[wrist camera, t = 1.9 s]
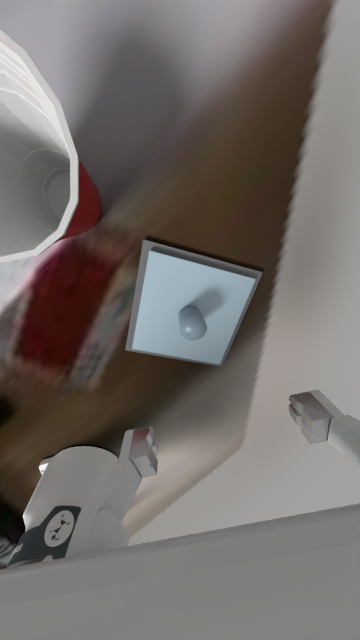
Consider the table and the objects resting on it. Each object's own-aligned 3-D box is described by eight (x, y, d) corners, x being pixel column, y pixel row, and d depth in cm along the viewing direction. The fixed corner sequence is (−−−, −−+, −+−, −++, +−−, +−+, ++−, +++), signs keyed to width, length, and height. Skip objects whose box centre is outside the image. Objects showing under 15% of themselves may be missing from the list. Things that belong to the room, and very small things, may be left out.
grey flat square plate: (221, 364, 30) (222, 367, 30) (126, 348, 28) (125, 350, 27) (260, 271, 24) (262, 272, 24) (143, 239, 22) (143, 239, 21)
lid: (218, 361, 29) (227, 382, 25) (132, 345, 27) (125, 366, 23) (253, 278, 24) (272, 286, 19) (150, 250, 22) (145, 252, 17)
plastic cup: (137, 168, 19) (94, 66, 8) (112, 266, 23) (60, 288, 12) (25, 110, 17) (-251, -143, 6) (18, 229, 20) (-155, 215, 9)
